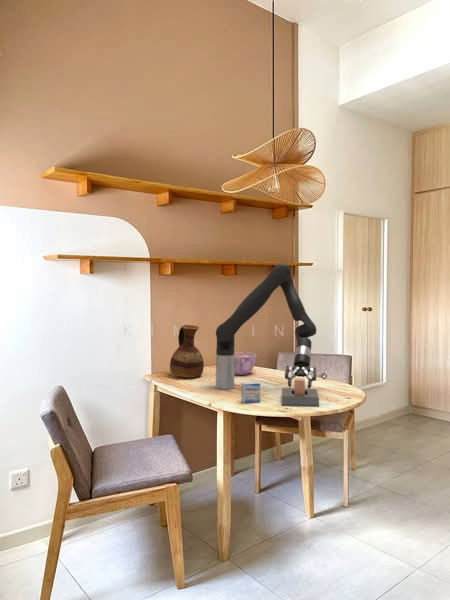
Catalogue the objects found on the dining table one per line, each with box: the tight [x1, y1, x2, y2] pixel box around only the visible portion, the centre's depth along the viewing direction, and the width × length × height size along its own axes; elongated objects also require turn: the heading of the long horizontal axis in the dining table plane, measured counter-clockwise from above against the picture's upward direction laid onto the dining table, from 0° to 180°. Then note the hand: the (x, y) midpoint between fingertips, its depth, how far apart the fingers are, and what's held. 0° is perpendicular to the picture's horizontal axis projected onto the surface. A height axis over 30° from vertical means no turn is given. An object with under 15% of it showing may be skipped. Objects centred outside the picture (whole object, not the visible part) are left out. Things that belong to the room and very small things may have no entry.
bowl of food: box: [234, 351, 257, 376], centre depth 267 cm, size 20×20×12 cm
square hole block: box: [281, 387, 320, 408], centre depth 205 cm, size 16×16×4 cm
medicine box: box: [240, 381, 261, 404], centre depth 204 cm, size 8×4×9 cm, turn 105°
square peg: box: [293, 377, 306, 395], centre depth 205 cm, size 4×4×9 cm
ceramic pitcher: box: [169, 324, 205, 379], centre depth 261 cm, size 20×20×30 cm
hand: (299, 386), depth 203 cm, fingers open, 8 cm apart
